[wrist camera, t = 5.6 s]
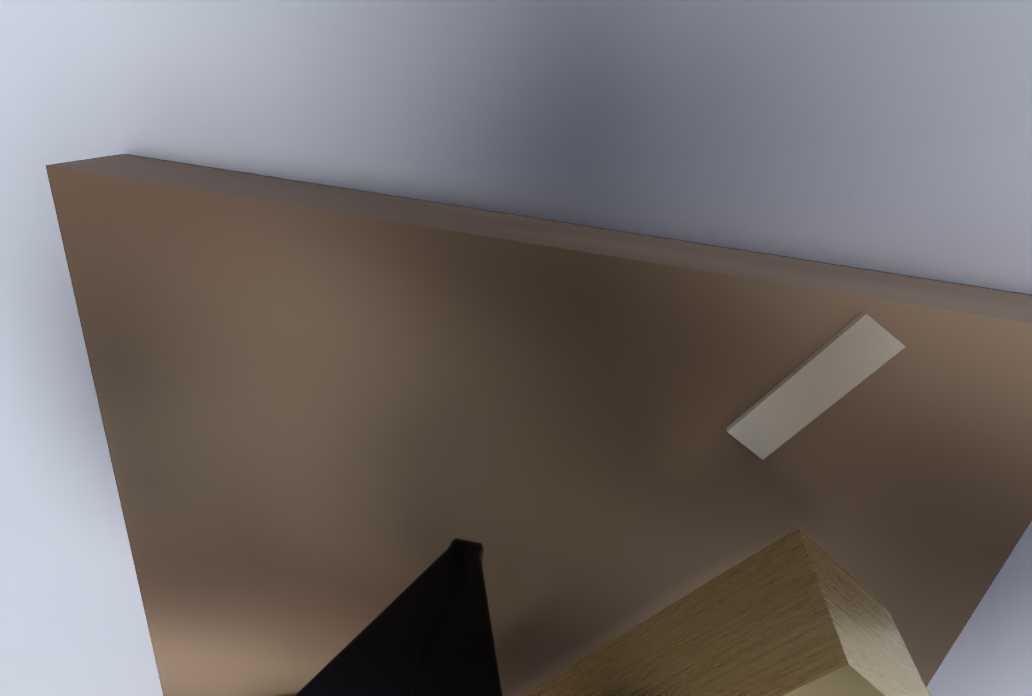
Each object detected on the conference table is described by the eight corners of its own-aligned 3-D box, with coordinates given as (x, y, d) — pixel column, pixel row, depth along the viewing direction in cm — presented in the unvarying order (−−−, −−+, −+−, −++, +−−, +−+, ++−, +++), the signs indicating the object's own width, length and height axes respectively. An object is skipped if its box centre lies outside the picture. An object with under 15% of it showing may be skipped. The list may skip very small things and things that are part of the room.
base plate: (739, 891, 16) (761, 1064, 13) (222, 749, 17) (144, 876, 15) (1063, 300, 9) (1272, 407, 6) (122, 154, 10) (-68, 182, 7)
